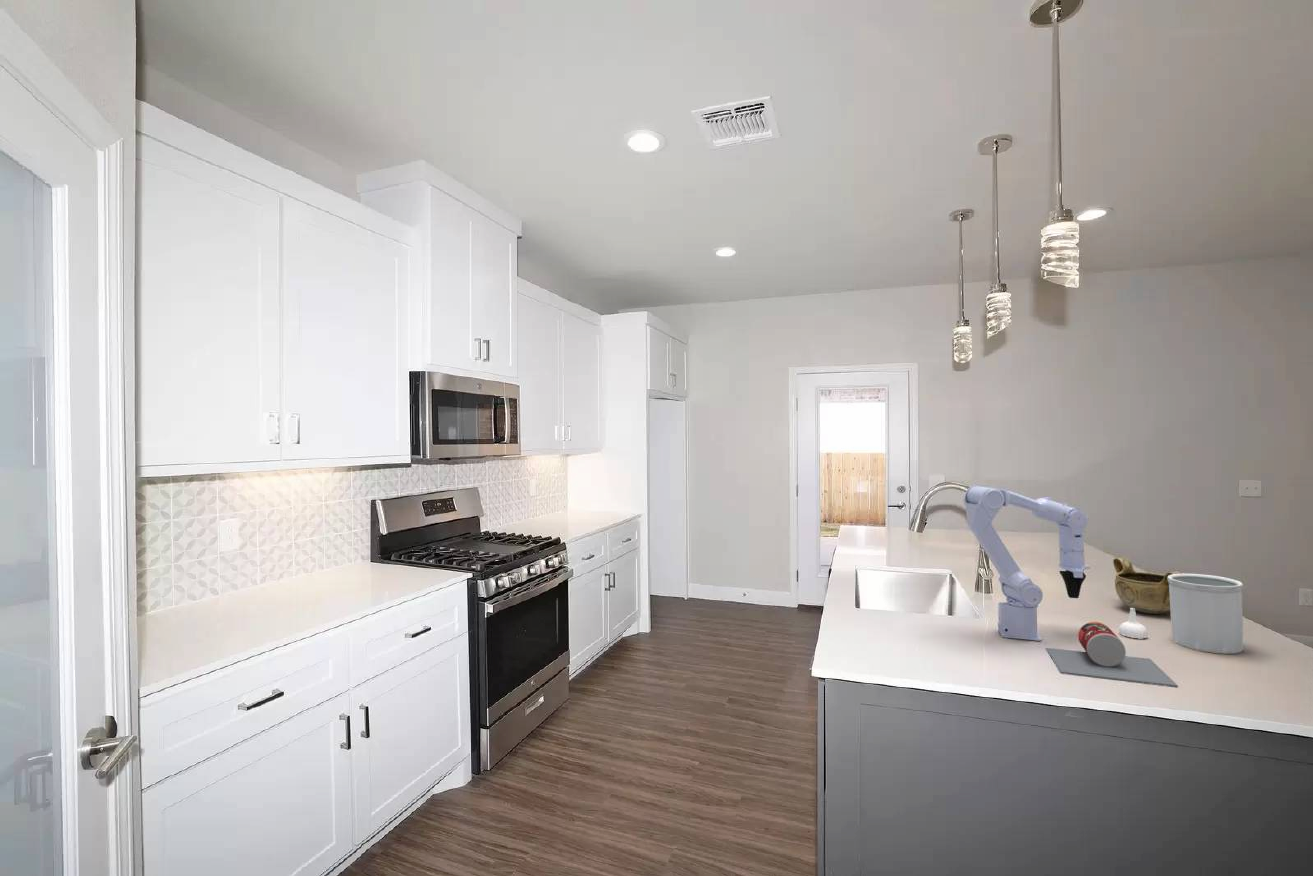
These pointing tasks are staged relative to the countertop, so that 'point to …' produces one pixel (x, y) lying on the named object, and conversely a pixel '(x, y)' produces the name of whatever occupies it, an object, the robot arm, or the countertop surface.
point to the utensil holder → (1206, 612)
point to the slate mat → (1110, 668)
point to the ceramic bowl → (1142, 588)
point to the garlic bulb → (1133, 627)
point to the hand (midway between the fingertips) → (1073, 597)
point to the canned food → (1101, 644)
